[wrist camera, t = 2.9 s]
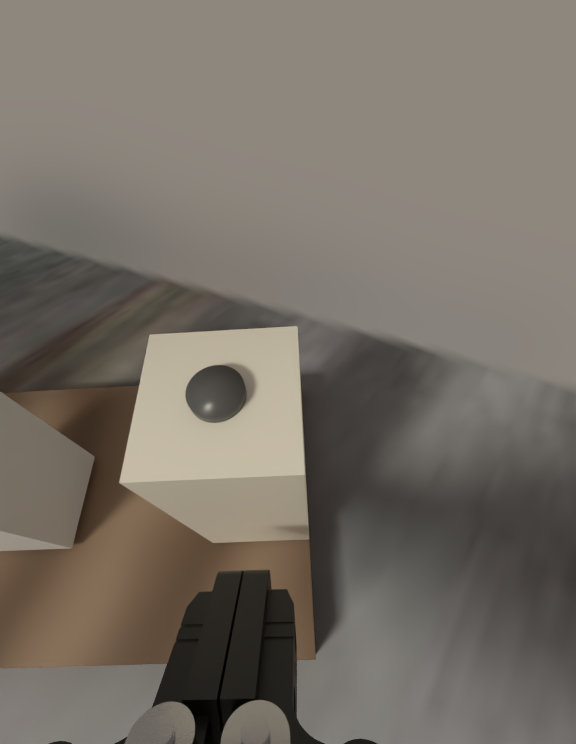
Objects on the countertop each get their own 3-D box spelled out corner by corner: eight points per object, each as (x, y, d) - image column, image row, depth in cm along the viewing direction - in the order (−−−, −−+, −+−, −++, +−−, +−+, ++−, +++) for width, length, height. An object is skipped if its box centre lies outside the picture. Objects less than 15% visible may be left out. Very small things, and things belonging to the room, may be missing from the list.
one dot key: (213, 542, 16) (113, 478, 8) (219, 450, 18) (145, 327, 10) (309, 539, 16) (304, 470, 8) (304, 446, 18) (296, 318, 10)
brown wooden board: (-258, 670, 16) (-307, 676, 15) (-109, 411, 22) (-134, 400, 21) (315, 655, 15) (315, 659, 14) (301, 390, 21) (300, 376, 20)
